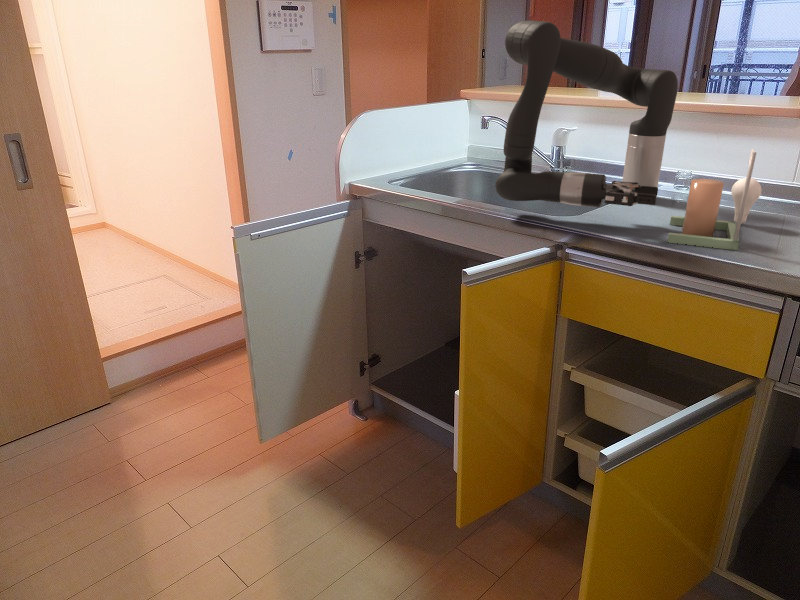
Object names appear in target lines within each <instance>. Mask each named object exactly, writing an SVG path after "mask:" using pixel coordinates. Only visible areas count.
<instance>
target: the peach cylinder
mask: <svg viewBox="0 0 800 600" xmlns="http://www.w3.org/2000/svg"><path fill="white" fill-rule="evenodd" d="M724 184H725V182H724V181H722V180H717V179H709V178H694V179H691V181H690V186H689V192H688V196H687V203H686V208H685V213H684V217H685V218H684V224H683V226H682V230H681V234H687V235H696V236H706V237H714V236H715V235H714V234H715V230H716V229H715V225H716V220H718V215H719V214H718V213H719V209H720V204H721V200H722V195H723V189H724Z"/></svg>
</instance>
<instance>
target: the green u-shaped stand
mask: <svg viewBox="0 0 800 600" xmlns="http://www.w3.org/2000/svg"><path fill="white" fill-rule="evenodd" d="M756 156H757V152H756V151H755V150H754V148H751V150H750V155H749V161H748V167H747V173H746V177H745V178H746V182H745V187H744V191H743V196H742V201H741V205H740V210H739V215H738V219H737V223H736V222H735V221H730V220H722V219H721V220H719V219H717V220H716V225H715V230H719V231H720V230H721V231H726V236H727V238H724V237H723V238H722V237H714V236H713V237H706V236H696V235H687V234H682V233H676V232H668V235H667V243H668V242H669V243H670V244H677V243H678V245H685V244H687V246H694V245H696V246H697V247H703V246H704V247H705V248H712V247H713V248H714V249H715V248H716V249H722V250H730V251H731V250H732V251H738V250H739V247H740V246H739V245H740V239H739V234H740V229H741V227H742V226H741V225H742V224H741V221H742V217H743V212H744V208H745V203H746V198H747V194H748V189H749V185H750V180H751V178H752V175H753V170H754V166H755V160H756V158H757V157H756ZM684 218H685V216H681V215H680V216H678V215H671V216H670V221H669V222H670V223H669V225H671V226H680V227H683V224H684ZM696 246H695V247H696Z"/></svg>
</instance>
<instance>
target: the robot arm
mask: <svg viewBox="0 0 800 600" xmlns="http://www.w3.org/2000/svg"><path fill="white" fill-rule="evenodd" d="M504 45H505V50H506V53H507V55H508V57H510V59H512V60H513V61H514V62H515V63H517V64H520V65H526V66H527V73H526V79H525V83H524V87H523V89H522V91H521V93H520V96H519V97H518V99H517V101H516V103H515V105H514V107H513V108H512V110H511V112H510V114H509V117H508V120H507V122H506V128H505V136H504V142H503V154H504V156H505V158H504V167H503V172H502V173H501V174H500V175H499V176H498V177H497V178H496V180H495V185H494V187H495V191H496V193H497V194H498V196H500V198H503V199H504V200H507V201H513V202H530V201H531V202H532V201H533V202H534V201H544V202H552V203H562V204H567V205H572V206H581V207H591V208H601V207H602V205H603V201H604V204H606V205H617V206H626V207H633V206H635V205H637V204H638V205H645V206H647V205H649V206H654V205H656V201H657V196H658V193H659V181H660V175H661V169H662V165H663V164H662V162H663V157H664V150H665V143H666V139H667V133H668V131H667V130H668V128H669V127H670V124H671V122H672V119H673V114H674V109H675V104H676V101H677V96H678V89H679V86H678V85H679V83H678V81H679V80H678V77H677V74H676V73H675V72H674V71H672V70H668V69H654V68H653V69H652V68H639V67H634V66H631V65H627V64H625V63H624V62H623V61H622V59H621V57H620V56H619V55H618V54H617V53H616V52H614V51H611V50H610V49H607V48H604V47H603V46H600V45H597V44H594V43H590V42H585V41H581V40H574V39H569V38H564V37H563V38H562V36H561V32H560V29H559V28H558V27H557V26H556V25H555V24H554V23H552V22H551V21H550V22H549V21H544V20H543V21H542V20H527V19H526V20H522V21H520V22H517V23H515V24H514V25H513V26H512V27H510V28H509V29H508V31H507V33H506V35H505V40H504ZM553 73H555V74H557V75H560V76H562V77H564V78H566V79H567V80H569V81H573V82H575V83H577V84H580V85H582V86H585V87H588V88H591V89H594V90H597V91H601V92H603V93H605V92H606V93H612V94H615V95H617V96H619V97H620V98H623V99H624V100H626V101H628V102H630V103H632V104H633V105H635V106H639V107H646V108H647V109H646V113H645V115H644V116H643V117H641V118H640V119H637V120H634V121H632V122H631V123H630V125H629V130H628V139H627V145H626V151H625V161H624V166H623V167H624V168H623V173H622V181H621V180H620V181H619V180H618V181H617V180H613V181H611V183H608V184H607V183H606V181H607V176H606V175H605V174H603V173H602V174H601V173H590V172H577V171H575V172H572V171H571V172H563V171H549V170H548V171H547V170H546V171H542V172H539V173H537V172H536V173H533V172H532V167H533V152H534V149H535V148H534V146H535V143H536V138H537V137H536V136H537V131H538V124H539V119H540V115H541V112H542V108H543V107H542V106H543V104H544V101H545V98H546V94H547V92H548V88H549V86H550V83H551V79H552V77H553V76H552V75H553Z"/></svg>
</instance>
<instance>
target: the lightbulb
mask: <svg viewBox="0 0 800 600" xmlns="http://www.w3.org/2000/svg"><path fill="white" fill-rule="evenodd" d="M745 182H746V177H743V178H740V179H738V180H737V181H736V182H735V183H733V185H732V187H731V191H730V192H731V197H732V201H733V203H734V218H733V222H735V224H737V219H738V215H739V210H740V205H741V201H742V196H743V191H744V187H745ZM761 195H762V186H761V184H760V182H759V181H758V180H757V179H755V178H753V177H751V180H750V185H749V189H748V194H747V198H746V203H745V208H744V212H743V217H742V221H741V225H743V224H745V223H746V222H747V219H748V215H749V214H750V212H751V209H752V207H753V205H754V204H755V203H756V202H757V201H758V200H759V198H760V197H761Z"/></svg>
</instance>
